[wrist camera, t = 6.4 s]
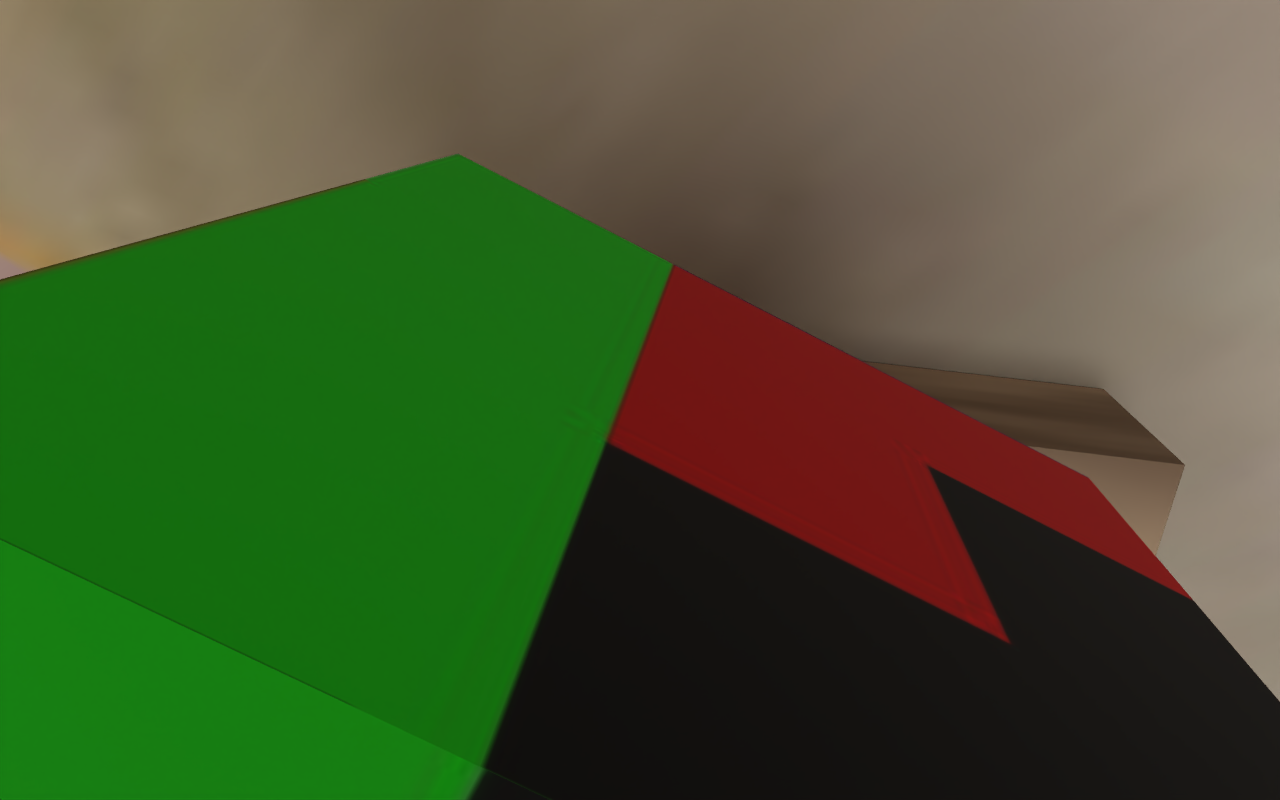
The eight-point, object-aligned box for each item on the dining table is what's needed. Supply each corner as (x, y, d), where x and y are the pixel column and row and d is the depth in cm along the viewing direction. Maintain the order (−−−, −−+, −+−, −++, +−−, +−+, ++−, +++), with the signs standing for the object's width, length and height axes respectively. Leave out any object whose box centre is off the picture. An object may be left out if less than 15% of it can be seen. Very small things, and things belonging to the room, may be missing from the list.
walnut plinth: (673, 339, 31) (656, 401, 25) (1103, 389, 30) (1185, 465, 24) (637, 684, 36) (617, 800, 30) (1005, 737, 35) (1055, 867, 29)
